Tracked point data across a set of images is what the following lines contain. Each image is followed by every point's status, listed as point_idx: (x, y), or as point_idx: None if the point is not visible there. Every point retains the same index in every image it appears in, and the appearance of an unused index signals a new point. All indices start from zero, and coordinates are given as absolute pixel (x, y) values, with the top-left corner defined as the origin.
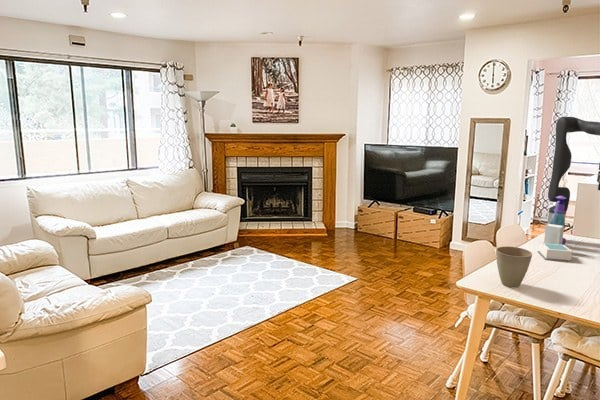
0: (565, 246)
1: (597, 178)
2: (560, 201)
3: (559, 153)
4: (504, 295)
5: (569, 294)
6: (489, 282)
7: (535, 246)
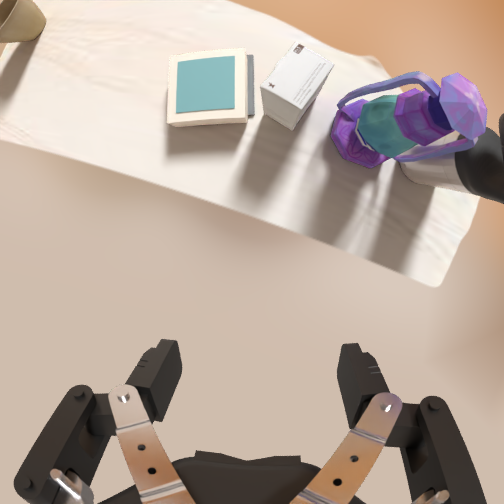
0: (224, 115)
1: (451, 426)
2: (437, 97)
3: None
4: None
5: (12, 107)
6: (44, 5)
7: None
